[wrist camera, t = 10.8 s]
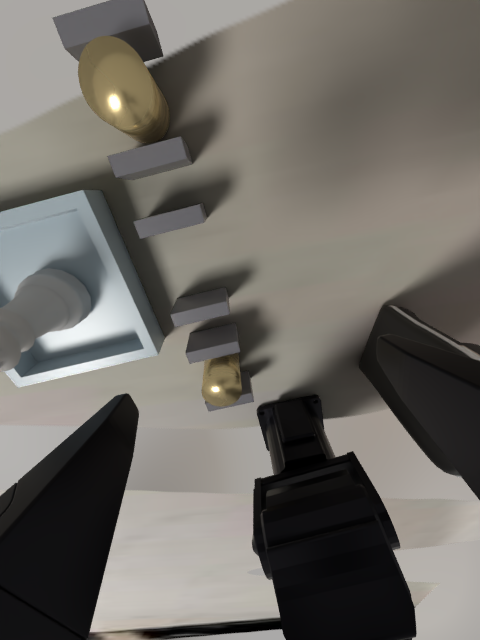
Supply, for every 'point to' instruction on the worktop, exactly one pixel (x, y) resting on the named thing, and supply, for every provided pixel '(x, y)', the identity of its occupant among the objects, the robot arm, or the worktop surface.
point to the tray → (92, 271)
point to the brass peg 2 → (222, 380)
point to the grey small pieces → (139, 32)
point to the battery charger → (409, 328)
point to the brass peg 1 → (122, 89)
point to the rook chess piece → (40, 312)
